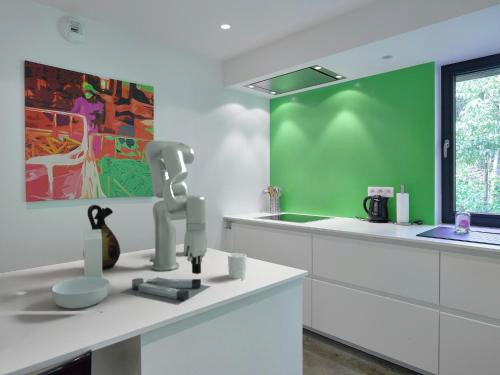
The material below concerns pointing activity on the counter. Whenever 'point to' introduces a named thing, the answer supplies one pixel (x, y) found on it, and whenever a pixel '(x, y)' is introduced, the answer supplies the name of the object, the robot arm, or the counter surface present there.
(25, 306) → the counter surface
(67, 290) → the cereal bowl
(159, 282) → the moving tong arm
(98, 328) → the counter surface
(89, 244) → the milk
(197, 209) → the robot arm
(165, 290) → the bar
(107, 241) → the ceramic jug
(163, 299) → the slate board
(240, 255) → the white cup
